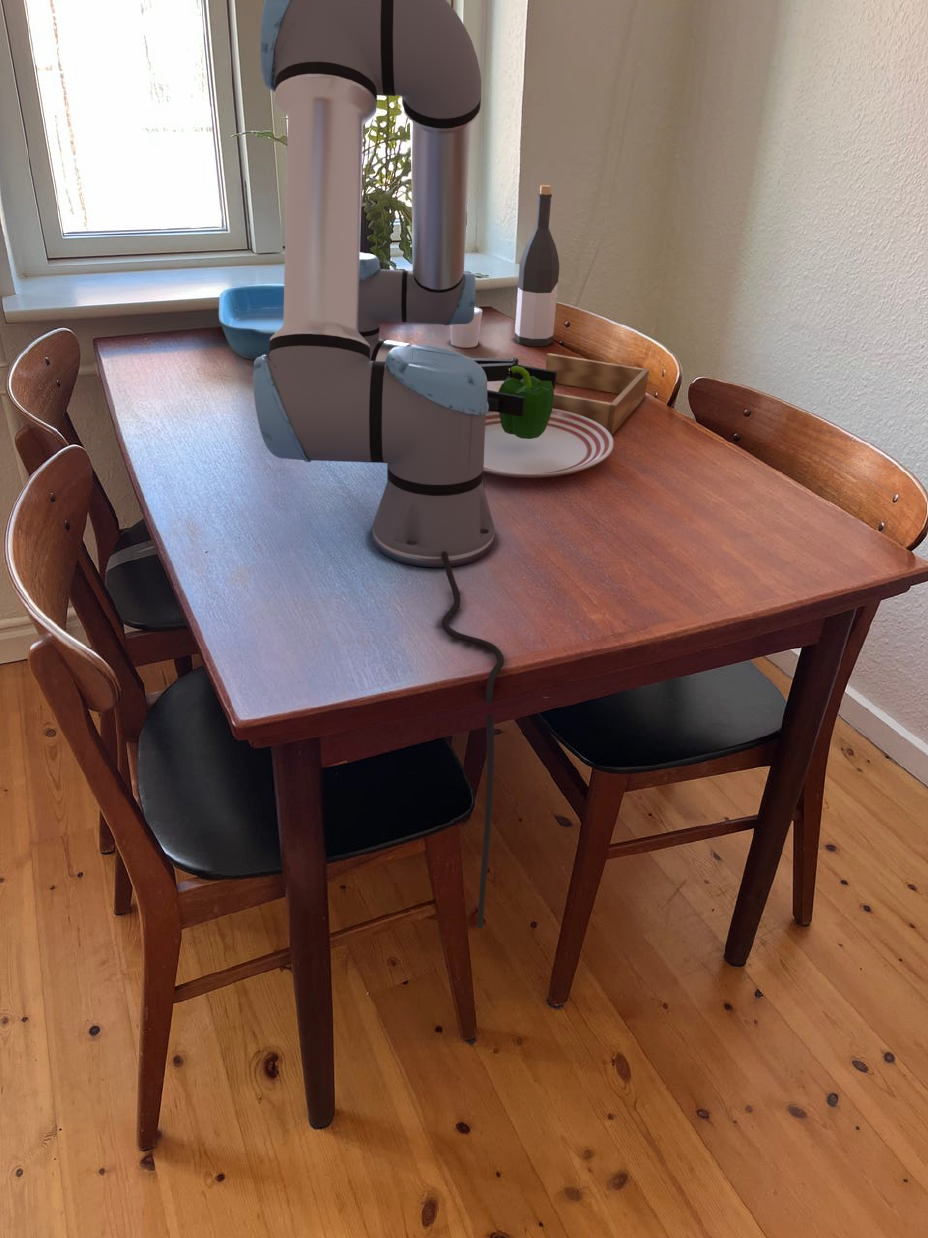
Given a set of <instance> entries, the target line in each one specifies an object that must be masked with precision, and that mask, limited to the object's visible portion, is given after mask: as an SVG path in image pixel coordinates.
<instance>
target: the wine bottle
mask: <svg viewBox="0 0 928 1238" xmlns="http://www.w3.org/2000/svg"><path fill="white" fill-rule="evenodd" d="M551 192H552V186H551V185H549V184H540V186H539V192H538V194H537V197H538V200H537V211H536V213H537V214H536V227H535V229H534V230H533V232H532V234H531V236H530V237H529V239H528V240H527V243H525V247H524V249H523V251H522V254H521V258H520V261H519V269H518V279H517V280H518V281H517V295H516V309H515V310H516V311H515V326H514V341H515V342H517V343H518V345H523V346H529V347H546V346H549V345H551V344H552V343H553V340H554V331H555V321H556V311H557V299H558V290H559V289H558V286H559V278H560V277H559V276H560V260H559V254H558V250H557V246H556V243H555V240H554V238H553V236H552V233H551V230H550V218H551V204H552V197H553V194H552V193H551Z"/></svg>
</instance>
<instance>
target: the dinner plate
mask: <svg viewBox="0 0 928 1238" xmlns="http://www.w3.org/2000/svg"><path fill="white" fill-rule="evenodd" d="M614 445H615V444H614V438H613V435H611V434H610V433H609V432H608V430H607V429H605V428H604V427H603V426H602V425H600V424H598V423H597V422H595V421H593V420H591V419H589V418H586V417H584V416H581V415H578V414H575V413H571V412H567V411H563V410H559V409H553V408H552V412H551V415H550V418H549V421H548V424H547V427H546V429H545V431H544V432H543V433H542V434H541V435H540V436H539V437H538V438H533V439H523V438H519V437H517V436H516V435H513V434H508V433H505V431H504V430H503V428H502V425H501V420H500V415H499V412H494V411H489V410H488V412H487V413H486V422H485V445H484V468H483V473H488V474H492V475H496V476H502V477H507V478H516V479H541V478H550V477H559V476H564V475H569V474H570V475H571V474H574V473H578V472H581V471H584V470H587V469H589V468H592V467H594V466H596V465H598V464H600V463H601V462H603V461H604V460H606V459H607V458H608V457H609V456H610V455H611V454H612V451H613V449H614Z"/></svg>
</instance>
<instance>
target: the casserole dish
mask: <svg viewBox="0 0 928 1238" xmlns="http://www.w3.org/2000/svg"><path fill="white" fill-rule="evenodd" d="M283 318H284V283H260V284H259V283H258V284H250V285H241V286H233V287H228V288H226V289H224V290H222V291H221V293H220V294H219V298H218V320H219V323H220V326H221V327H222V330H223V333H224V336H225V338H226V341H227V342H228V344H229V346H230V348H231V349H232V350H233V352H235V353H236V354H237V355H239V356H240V357H242V359H248V360H255V359H256V358H258V357H261V356H262V355H267V356H269V342H270V338H271V337H272V336H273V335H274V334H275V333H276V332H277V331H278V330H279V329H280V328H281V327H282V326H283Z"/></svg>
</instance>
